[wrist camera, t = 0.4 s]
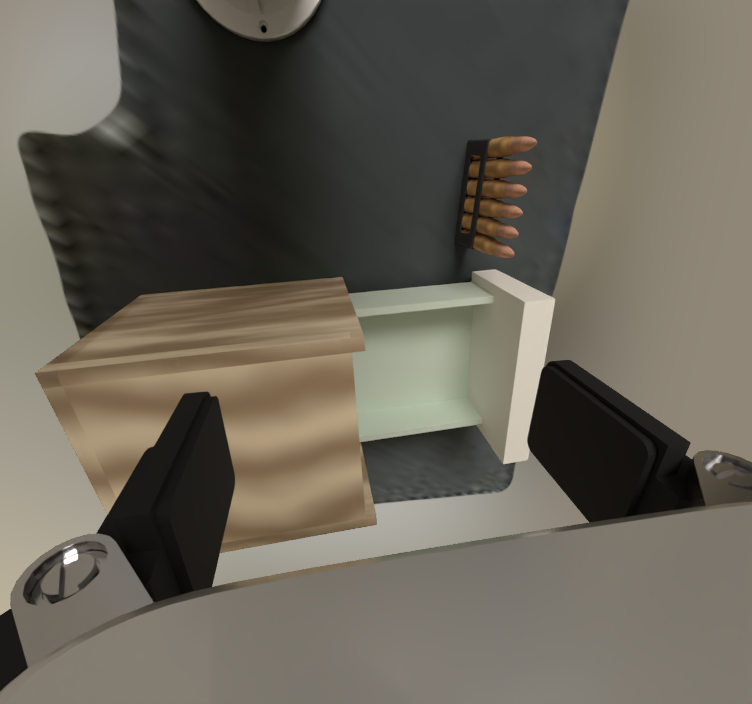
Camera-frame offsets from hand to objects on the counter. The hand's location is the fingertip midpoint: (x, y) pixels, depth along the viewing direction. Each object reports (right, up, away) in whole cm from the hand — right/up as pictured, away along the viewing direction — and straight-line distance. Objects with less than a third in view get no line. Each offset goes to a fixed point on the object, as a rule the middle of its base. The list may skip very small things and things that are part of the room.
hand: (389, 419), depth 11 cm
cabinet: (-15, 0, +36) cm, 39 cm away
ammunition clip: (+10, +20, +31) cm, 39 cm away
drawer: (+4, +2, +37) cm, 37 cm away
